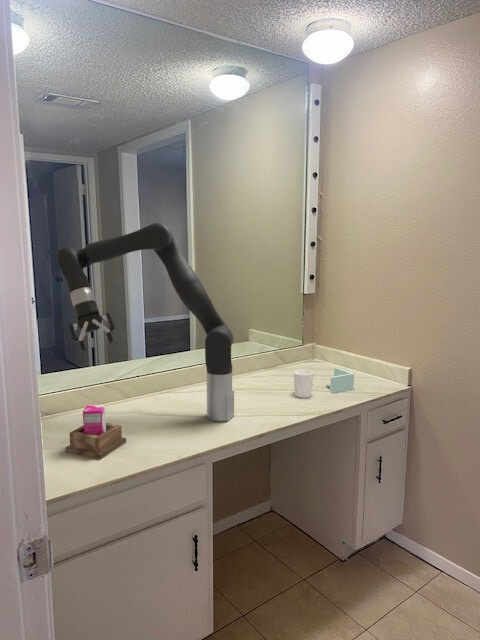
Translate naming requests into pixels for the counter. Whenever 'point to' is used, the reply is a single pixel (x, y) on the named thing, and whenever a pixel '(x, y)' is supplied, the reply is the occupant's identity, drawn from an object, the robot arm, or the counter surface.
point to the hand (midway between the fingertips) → (98, 347)
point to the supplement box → (94, 419)
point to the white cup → (303, 383)
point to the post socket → (96, 442)
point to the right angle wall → (341, 381)
